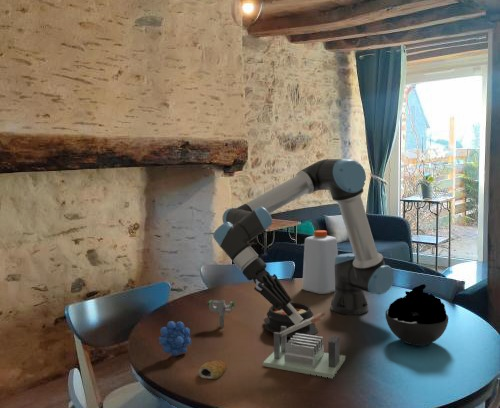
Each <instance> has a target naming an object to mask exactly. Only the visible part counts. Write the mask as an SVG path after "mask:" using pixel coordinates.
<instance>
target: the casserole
mask: <svg viewBox="0 0 500 408" xmlns="http://www.w3.org/2000/svg"><path fill="white" fill-rule="evenodd" d="M289 303H290V304H291V305H292V306H293V307H294V308H295V310H296V311H297V312H298V313H299V314H300V315H301V317H302V318H303V320H302V321H305V320H307V319H309V318H311V317H313V316H314V312H313V311H312V310H311V307H310V306H308V305H307V304H303V303H300V302H289ZM266 316H267V317H265V318H264V319H263V321H264V327H265V329H266V331H269V332H270V333H273V334H274V332H278V333H280V332H281V326H286V328H289V327H291V326H294V325H295V324H294V323H293V321H292V320H291V319H290V318H289V317H288V316H287V314H286V313H285V312H284V311H283V310H282V309H281V310H280V311H279V310H278V309H276V308H275V307H274V306H273V305H271V306H270V307H269V309H268V311H267V312H266ZM302 321H301V322H302ZM299 323H300V322H299ZM296 333H299V334H306V335H313V336H316V335H317V334H318V333H319V330H318V328H317V326H316V323H313V324H312V323H311V324H309V325H307V326H305V327H302V328H300V329H298V330H296V331H293V332H291V333H289V334H287V338H289V339H291V338H293V336H295V334H296Z"/></svg>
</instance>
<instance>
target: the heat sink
mask: <svg viewBox="0 0 500 408" xmlns="http://www.w3.org/2000/svg"><path fill="white" fill-rule="evenodd" d="M285 329H287V328H286V326H281V331H282V330H285ZM287 338H288V337H287V335H284V336H282V337H280V333H278V332H274V333H273V352H274V359H278V360H279V359H280V346H281V352H285V354H284V355H285V364H289V365H295V366H300V367H306V368H312V369H313V368H314V367H315V365H316V364H317V363H318V361H319V360H320V359H321V357H322V356H323V355H324V353H325V352H324V351H325V350H324V349H325V348H324V337H323V336H318V335H306V334H299V333H296V334H295V336H293V338H289V340H288V339H287ZM327 347H328V352H327V353H328V355H329V367H333V368H335V367H336V366H337V364H338V363H339V361H340V355H341V354H340V353H341V352H340V350H341V349H340V336H337V335H332V336H331V338H330V339H329V340H328V344H327Z"/></svg>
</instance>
